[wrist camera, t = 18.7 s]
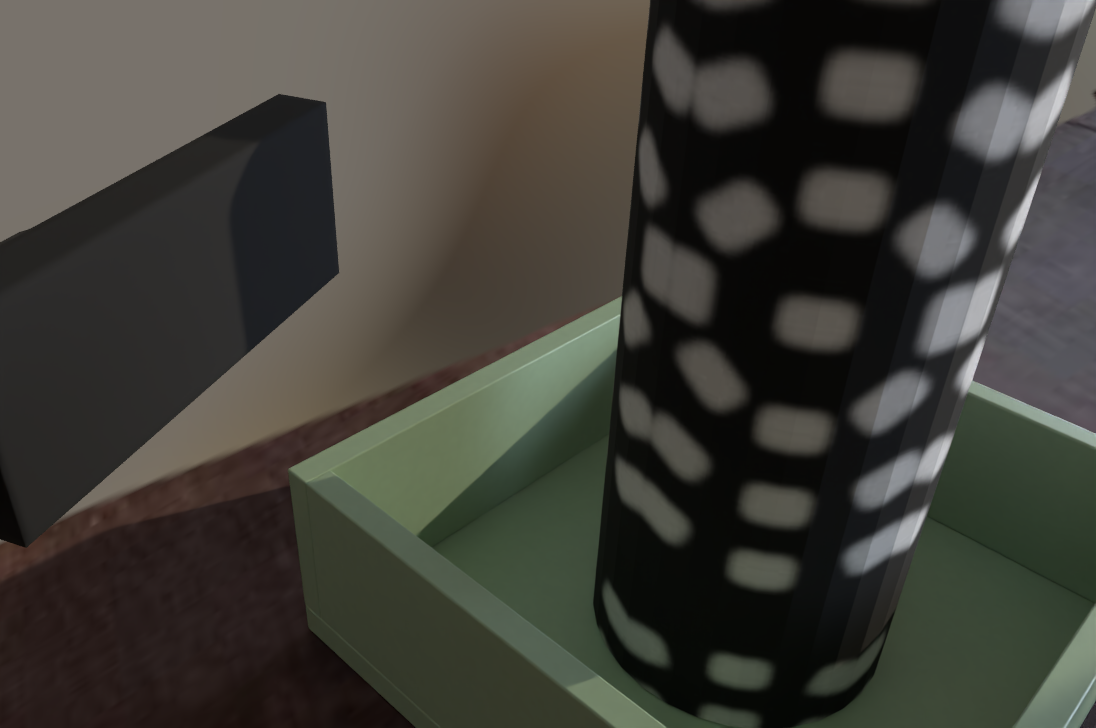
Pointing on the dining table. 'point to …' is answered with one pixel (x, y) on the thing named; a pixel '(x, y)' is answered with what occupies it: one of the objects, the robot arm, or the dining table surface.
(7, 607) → the dining table surface
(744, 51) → the white-spotted black cylinder
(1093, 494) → the bin
